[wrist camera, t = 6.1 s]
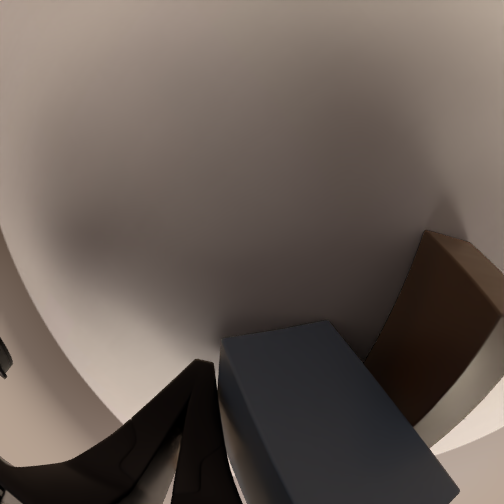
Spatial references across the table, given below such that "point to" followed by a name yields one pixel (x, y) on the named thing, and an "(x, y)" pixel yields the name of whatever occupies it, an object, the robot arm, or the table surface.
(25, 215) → the table surface
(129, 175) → the table surface
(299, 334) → the slate block
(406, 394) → the walnut rail
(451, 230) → the table surface
